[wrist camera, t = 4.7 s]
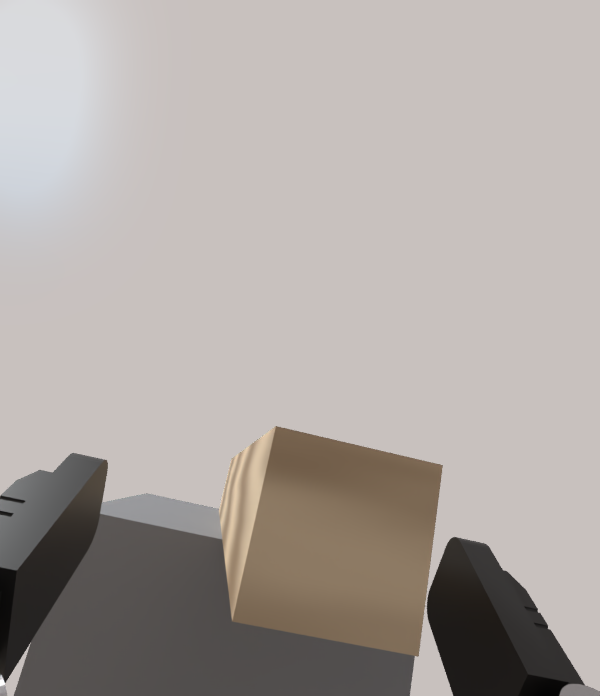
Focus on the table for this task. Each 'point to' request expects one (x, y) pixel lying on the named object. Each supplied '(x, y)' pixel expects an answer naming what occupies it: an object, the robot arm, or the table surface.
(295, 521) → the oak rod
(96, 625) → the charcoal pedestal
